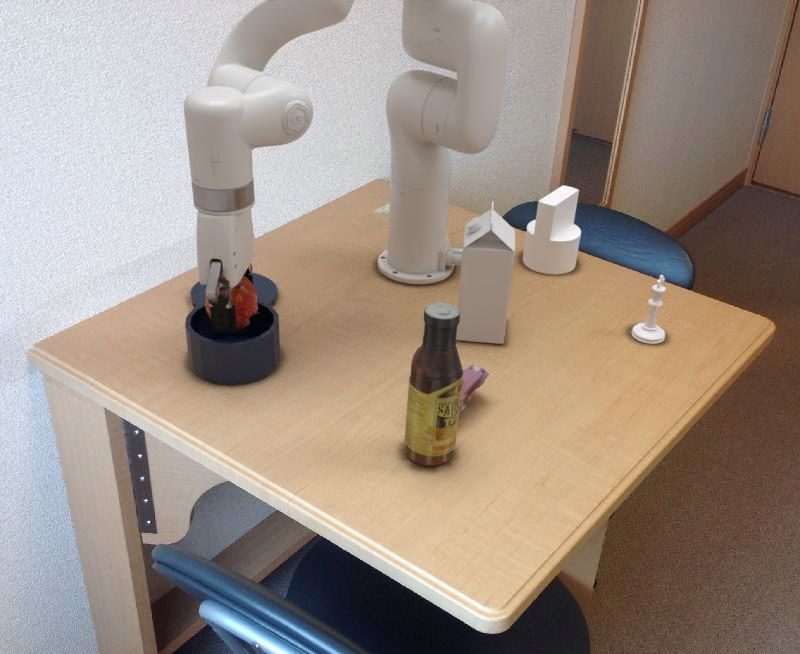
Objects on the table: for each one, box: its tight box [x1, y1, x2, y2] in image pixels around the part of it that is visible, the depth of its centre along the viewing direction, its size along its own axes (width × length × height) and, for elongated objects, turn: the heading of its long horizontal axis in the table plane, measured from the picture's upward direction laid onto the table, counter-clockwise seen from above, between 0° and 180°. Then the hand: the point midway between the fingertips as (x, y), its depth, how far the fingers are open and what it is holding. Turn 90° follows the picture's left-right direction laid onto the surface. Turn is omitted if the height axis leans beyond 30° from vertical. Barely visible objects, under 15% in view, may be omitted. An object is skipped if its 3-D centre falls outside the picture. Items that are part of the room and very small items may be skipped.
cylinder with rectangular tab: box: [522, 184, 582, 275], centre depth 153 cm, size 9×9×12 cm
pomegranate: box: [205, 276, 261, 331], centre depth 123 cm, size 7×7×10 cm
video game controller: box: [459, 363, 490, 413], centre depth 119 cm, size 10×5×7 cm, turn 148°
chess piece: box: [631, 274, 667, 345], centre depth 135 cm, size 5×5×10 cm
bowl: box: [184, 300, 281, 386], centre depth 126 cm, size 12×13×6 cm
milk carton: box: [456, 201, 516, 345], centre depth 131 cm, size 7×7×19 cm
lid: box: [190, 272, 279, 307], centre depth 140 cm, size 13×13×7 cm
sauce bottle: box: [404, 301, 464, 467], centre depth 107 cm, size 6×6×20 cm
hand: (234, 314), depth 124 cm, fingers closed on pomegranate, 7 cm apart
